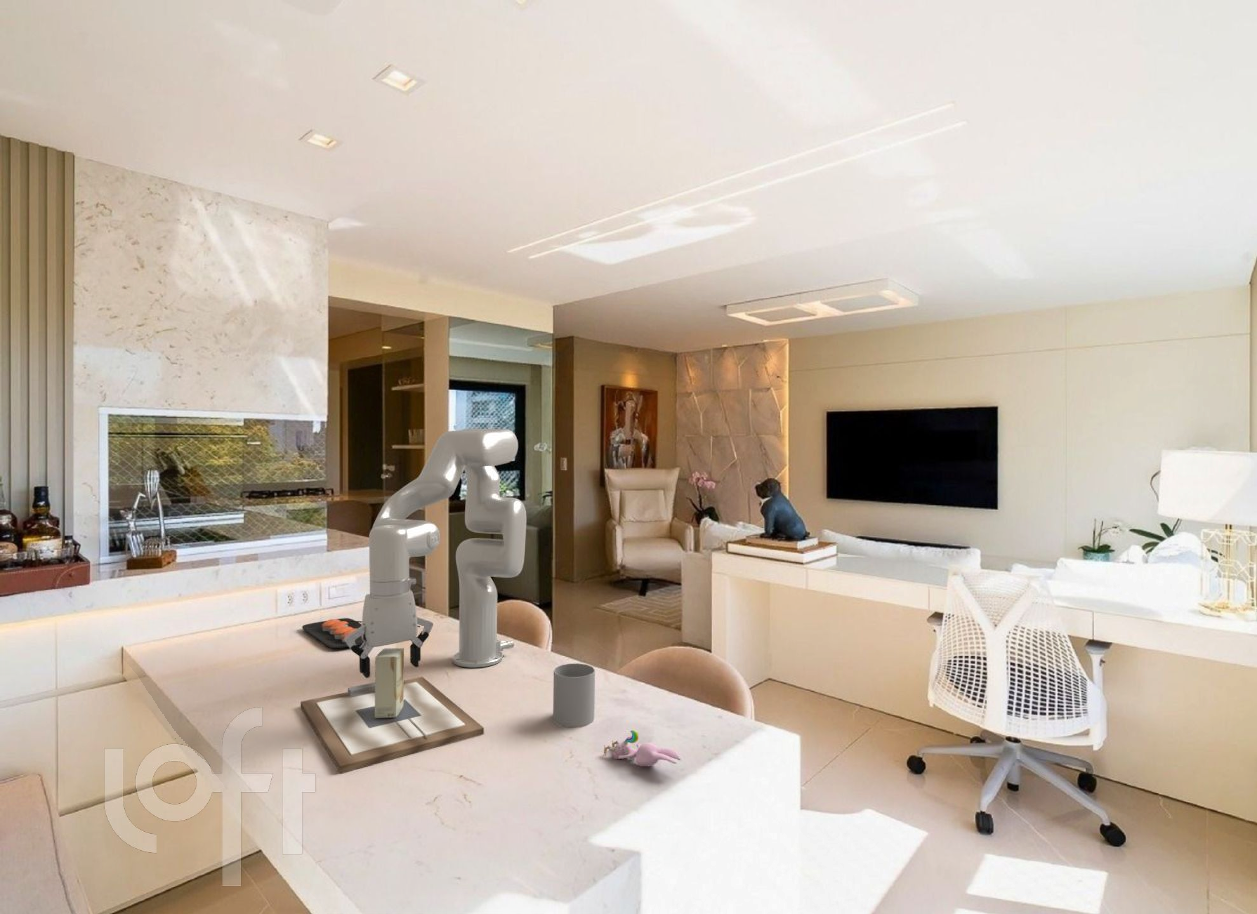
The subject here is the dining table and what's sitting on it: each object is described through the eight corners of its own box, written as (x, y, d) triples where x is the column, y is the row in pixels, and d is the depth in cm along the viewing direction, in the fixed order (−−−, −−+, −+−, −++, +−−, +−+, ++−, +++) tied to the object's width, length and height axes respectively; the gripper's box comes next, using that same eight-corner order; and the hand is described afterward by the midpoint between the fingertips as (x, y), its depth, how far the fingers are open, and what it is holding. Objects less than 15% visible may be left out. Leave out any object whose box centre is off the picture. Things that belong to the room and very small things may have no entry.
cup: (600, 714, 135) (600, 666, 135) (585, 730, 127) (585, 679, 127) (563, 708, 138) (564, 661, 138) (546, 723, 130) (546, 674, 130)
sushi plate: (298, 631, 193) (298, 618, 193) (396, 614, 214) (396, 603, 214) (332, 655, 172) (332, 641, 172) (437, 634, 192) (437, 621, 192)
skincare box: (396, 718, 128) (397, 657, 128) (373, 719, 128) (374, 657, 127) (404, 705, 134) (404, 647, 134) (382, 706, 134) (383, 647, 134)
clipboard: (422, 681, 152) (422, 669, 152) (483, 734, 125) (483, 719, 125) (300, 707, 136) (300, 694, 136) (340, 773, 109) (340, 757, 109)
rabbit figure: (599, 767, 116) (670, 779, 107) (595, 733, 116) (665, 742, 107) (619, 754, 121) (689, 764, 112) (616, 721, 121) (684, 729, 113)
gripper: (425, 577, 139) (426, 656, 140) (339, 589, 128) (340, 674, 129) (438, 584, 133) (439, 666, 134) (349, 597, 122) (350, 686, 123)
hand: (390, 670), depth 131 cm, fingers open, 9 cm apart
